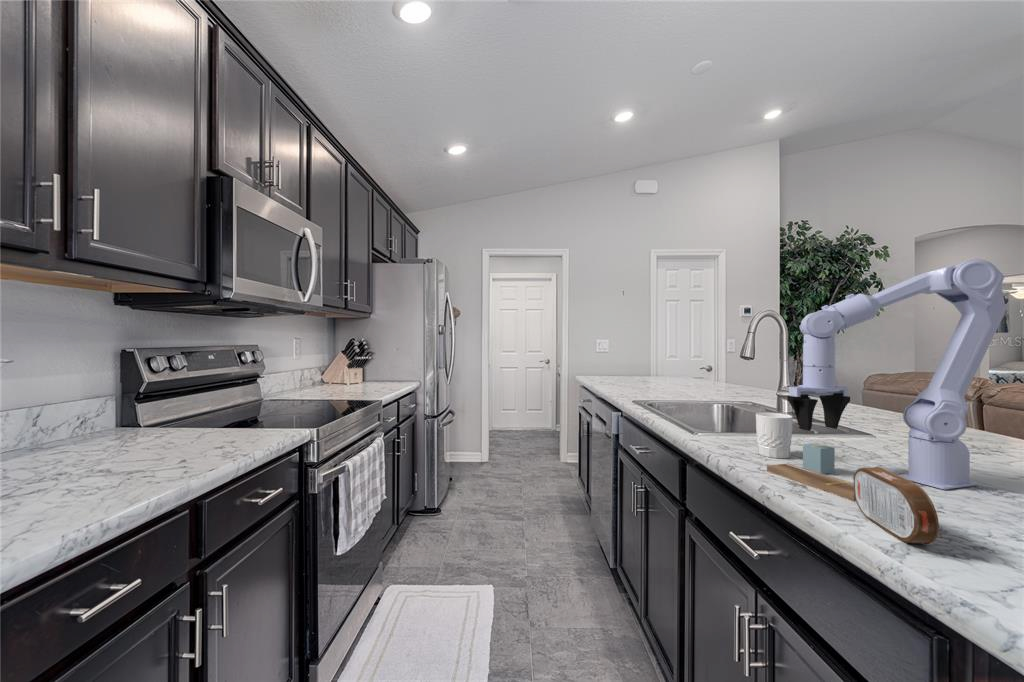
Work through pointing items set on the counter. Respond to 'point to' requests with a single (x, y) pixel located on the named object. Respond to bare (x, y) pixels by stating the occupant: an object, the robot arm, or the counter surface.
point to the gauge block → (819, 458)
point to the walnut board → (815, 479)
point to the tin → (896, 505)
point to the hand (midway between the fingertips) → (818, 428)
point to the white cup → (774, 434)
